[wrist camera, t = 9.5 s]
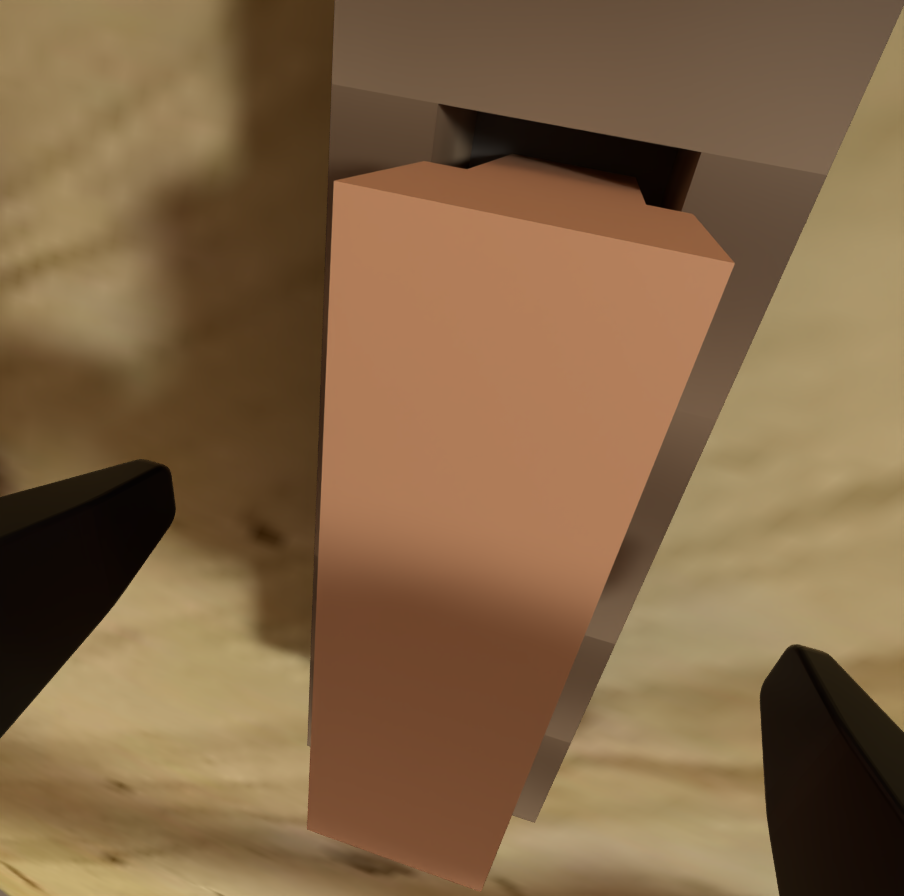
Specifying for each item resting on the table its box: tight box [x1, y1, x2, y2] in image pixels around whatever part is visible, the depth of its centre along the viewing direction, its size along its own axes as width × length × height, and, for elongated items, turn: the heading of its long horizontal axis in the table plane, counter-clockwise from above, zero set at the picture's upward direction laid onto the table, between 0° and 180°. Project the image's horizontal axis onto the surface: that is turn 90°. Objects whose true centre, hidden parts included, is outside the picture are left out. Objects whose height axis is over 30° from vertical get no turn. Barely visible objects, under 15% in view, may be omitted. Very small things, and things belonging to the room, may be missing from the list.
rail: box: [307, 0, 904, 823], centre depth 11 cm, size 18×6×3 cm, turn 171°
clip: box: [307, 154, 735, 892], centre depth 9 cm, size 10×3×6 cm, turn 171°
